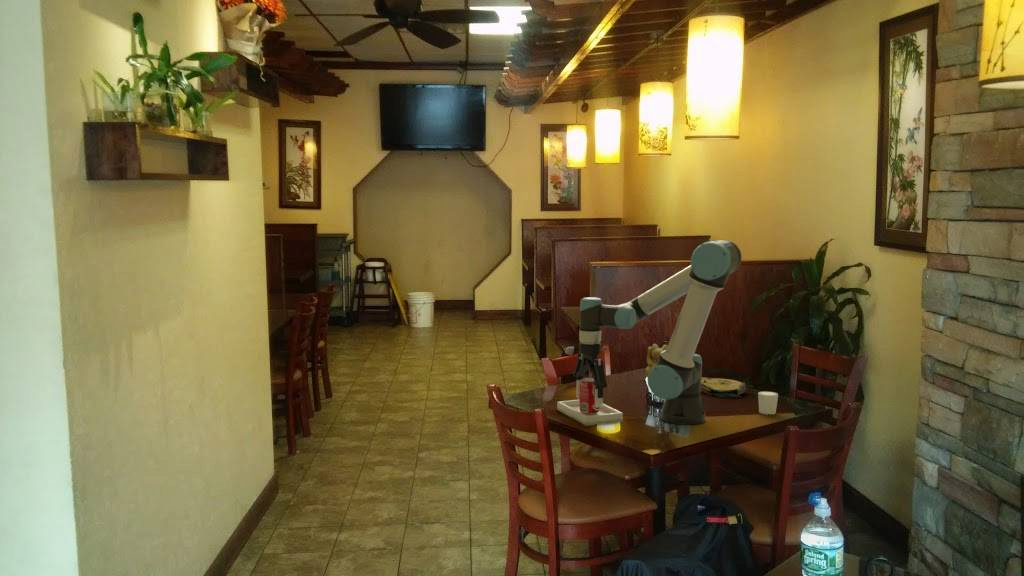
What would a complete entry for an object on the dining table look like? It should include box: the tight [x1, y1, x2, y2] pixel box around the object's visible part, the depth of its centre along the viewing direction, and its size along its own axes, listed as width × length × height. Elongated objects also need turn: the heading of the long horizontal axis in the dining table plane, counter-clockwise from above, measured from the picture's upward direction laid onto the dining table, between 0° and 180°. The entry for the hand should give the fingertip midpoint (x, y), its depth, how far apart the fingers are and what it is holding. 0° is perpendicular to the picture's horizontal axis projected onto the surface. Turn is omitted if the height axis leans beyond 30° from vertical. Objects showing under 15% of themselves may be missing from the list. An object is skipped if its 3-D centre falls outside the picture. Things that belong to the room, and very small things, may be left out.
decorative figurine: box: [645, 343, 668, 377], centre depth 346 cm, size 10×8×15 cm
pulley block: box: [701, 377, 754, 398], centre depth 328 cm, size 14×6×30 cm
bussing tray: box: [556, 399, 624, 427], centre depth 290 cm, size 22×14×3 cm, turn 23°
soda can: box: [578, 376, 600, 415], centre depth 289 cm, size 7×7×12 cm
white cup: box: [757, 390, 779, 416], centre depth 295 cm, size 7×7×7 cm
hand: (589, 402), depth 290 cm, fingers open, 13 cm apart
